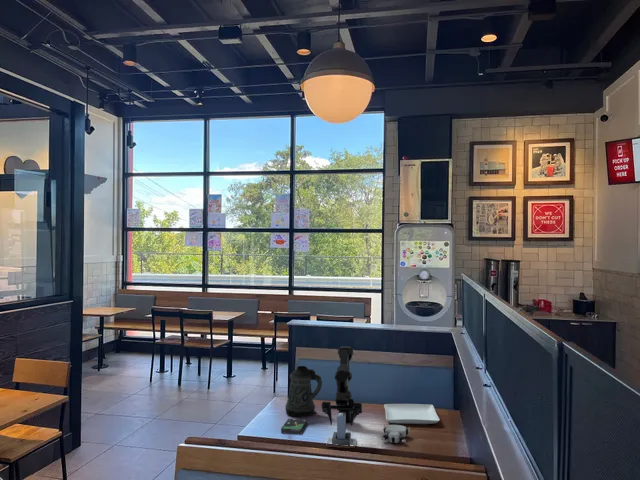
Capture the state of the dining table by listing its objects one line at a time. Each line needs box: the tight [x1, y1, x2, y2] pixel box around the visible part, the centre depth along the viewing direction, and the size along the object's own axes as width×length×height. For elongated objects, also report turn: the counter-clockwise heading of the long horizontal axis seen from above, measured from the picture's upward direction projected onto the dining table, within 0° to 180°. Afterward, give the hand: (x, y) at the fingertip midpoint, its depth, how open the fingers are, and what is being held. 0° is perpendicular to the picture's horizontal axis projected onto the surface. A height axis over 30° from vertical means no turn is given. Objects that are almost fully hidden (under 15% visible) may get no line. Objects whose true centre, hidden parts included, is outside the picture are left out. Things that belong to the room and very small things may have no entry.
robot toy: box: [380, 424, 410, 444], centre depth 219 cm, size 12×4×15 cm
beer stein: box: [284, 365, 323, 418], centre depth 261 cm, size 16×19×25 cm
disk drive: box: [280, 418, 308, 435], centre depth 235 cm, size 10×3×15 cm
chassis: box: [326, 431, 357, 446], centre depth 214 cm, size 10×13×4 cm
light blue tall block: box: [336, 411, 347, 439], centre depth 214 cm, size 6×4×13 cm, turn 174°
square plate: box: [383, 403, 440, 425], centre depth 250 cm, size 27×27×4 cm
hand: (341, 424), depth 213 cm, fingers open, 9 cm apart
